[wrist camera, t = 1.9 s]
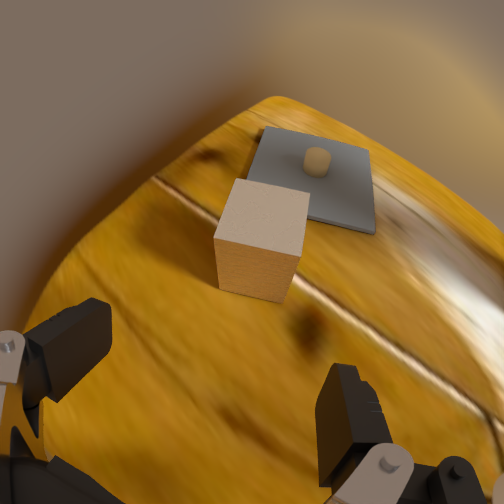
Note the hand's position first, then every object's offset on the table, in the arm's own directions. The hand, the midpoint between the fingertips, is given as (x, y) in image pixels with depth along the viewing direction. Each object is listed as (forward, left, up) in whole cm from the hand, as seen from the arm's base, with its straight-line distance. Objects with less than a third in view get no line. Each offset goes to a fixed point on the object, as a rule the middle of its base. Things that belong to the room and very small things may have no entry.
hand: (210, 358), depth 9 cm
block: (-3, -11, -15) cm, 19 cm away
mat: (-11, -25, -15) cm, 31 cm away
